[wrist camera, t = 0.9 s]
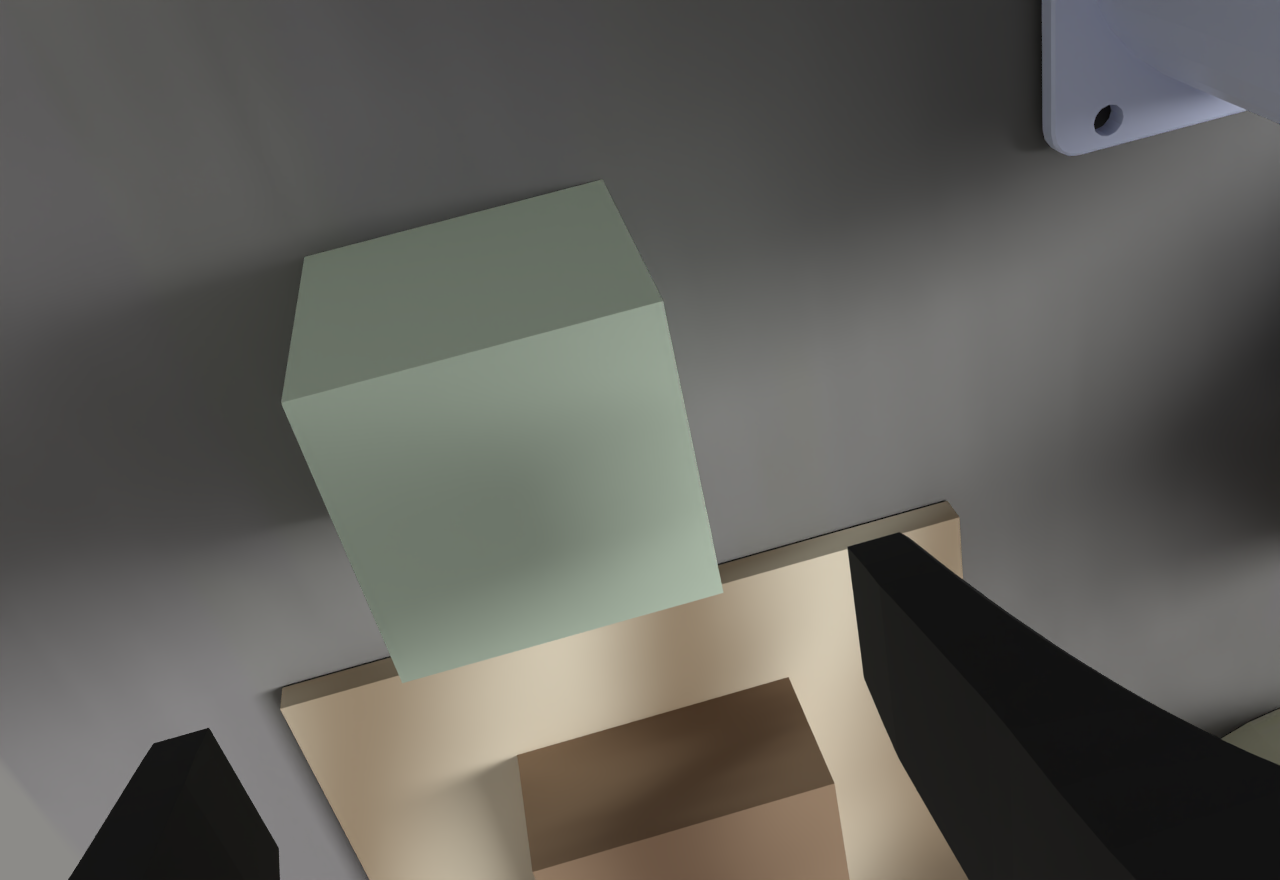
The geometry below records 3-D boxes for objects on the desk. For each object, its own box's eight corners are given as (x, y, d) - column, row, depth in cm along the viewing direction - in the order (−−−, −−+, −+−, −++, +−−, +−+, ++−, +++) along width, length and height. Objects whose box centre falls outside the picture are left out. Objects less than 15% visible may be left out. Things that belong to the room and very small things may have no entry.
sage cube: (601, 177, 19) (663, 301, 15) (658, 428, 22) (723, 592, 17) (304, 254, 19) (281, 403, 14) (399, 498, 21) (402, 683, 17)
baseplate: (946, 501, 24) (1029, 611, 21) (970, 862, 30) (1035, 986, 27) (282, 687, 23) (266, 830, 20) (452, 1017, 29) (459, 1163, 26)
